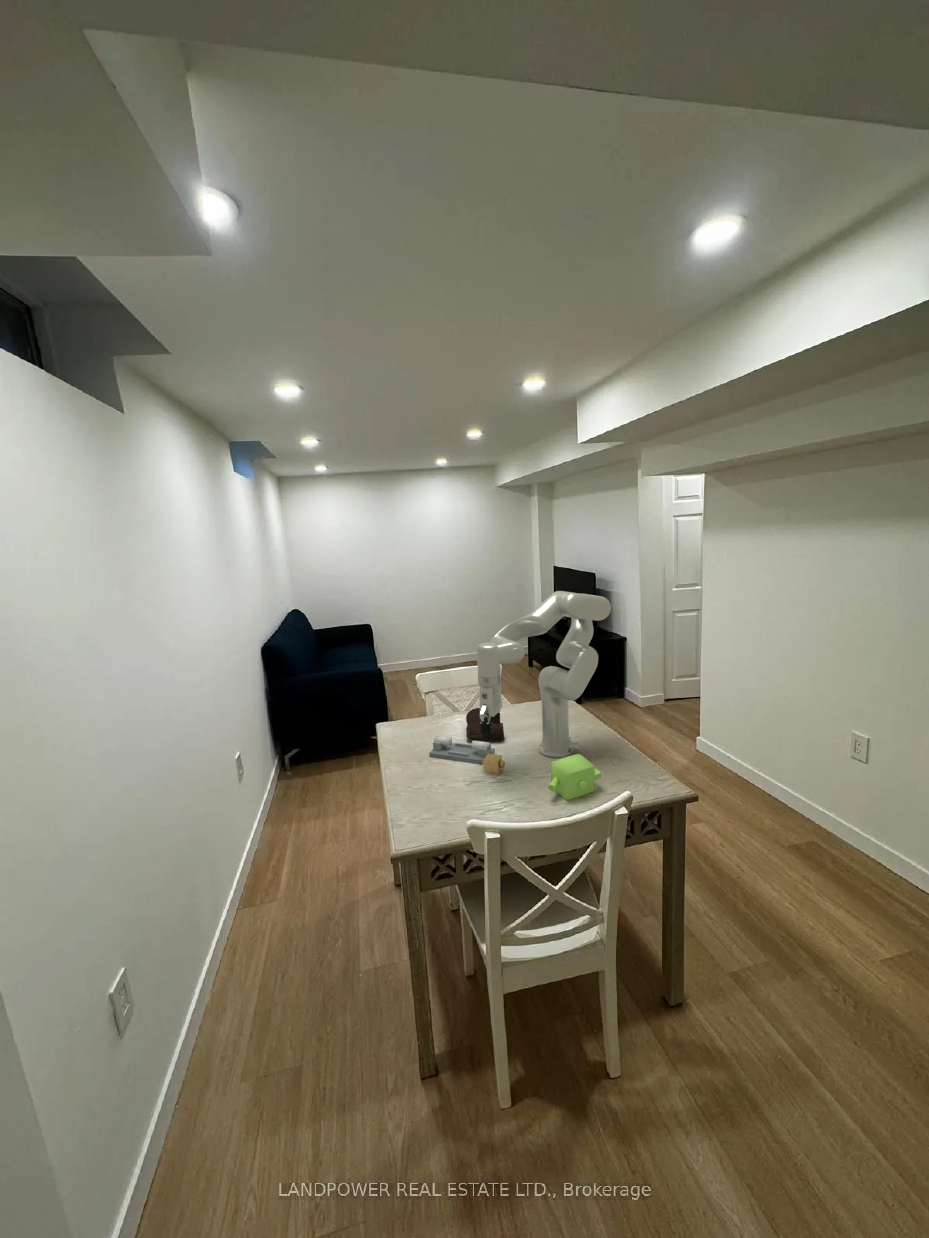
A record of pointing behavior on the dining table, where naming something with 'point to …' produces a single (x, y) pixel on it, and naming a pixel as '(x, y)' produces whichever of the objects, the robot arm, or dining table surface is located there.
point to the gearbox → (573, 776)
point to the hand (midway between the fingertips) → (491, 728)
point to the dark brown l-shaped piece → (475, 727)
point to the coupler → (493, 764)
